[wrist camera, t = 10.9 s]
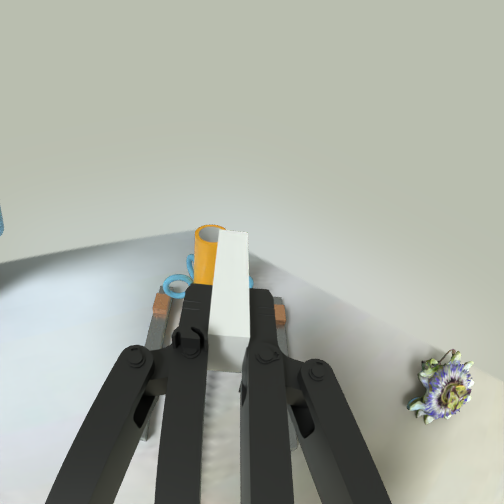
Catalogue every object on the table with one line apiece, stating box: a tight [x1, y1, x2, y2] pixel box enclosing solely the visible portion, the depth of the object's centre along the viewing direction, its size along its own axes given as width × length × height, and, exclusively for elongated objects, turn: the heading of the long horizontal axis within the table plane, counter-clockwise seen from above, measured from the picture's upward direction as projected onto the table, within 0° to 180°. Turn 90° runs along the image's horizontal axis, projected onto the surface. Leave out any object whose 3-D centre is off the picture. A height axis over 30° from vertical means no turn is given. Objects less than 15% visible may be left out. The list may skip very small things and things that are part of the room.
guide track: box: [140, 286, 297, 451], centre depth 36 cm, size 24×19×2 cm
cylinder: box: [163, 225, 253, 299], centre depth 38 cm, size 12×10×15 cm
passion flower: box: [407, 349, 474, 424], centre depth 33 cm, size 11×11×12 cm
